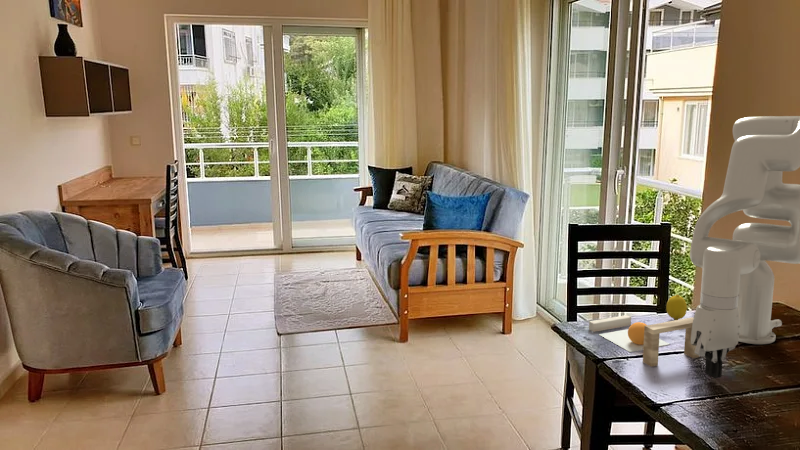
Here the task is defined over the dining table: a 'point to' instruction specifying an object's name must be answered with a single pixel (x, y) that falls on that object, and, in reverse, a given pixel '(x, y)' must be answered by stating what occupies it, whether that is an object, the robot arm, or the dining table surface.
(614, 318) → the wall
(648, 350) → the bridge
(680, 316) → the lemon
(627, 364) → the dining table surface
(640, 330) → the ball
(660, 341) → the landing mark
